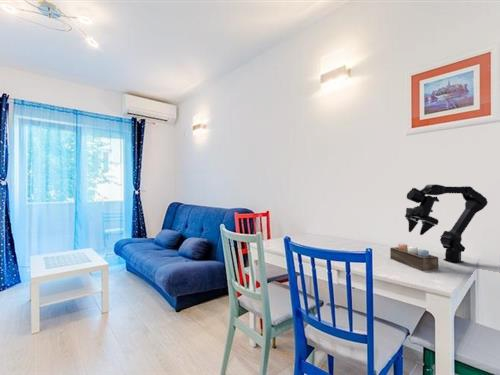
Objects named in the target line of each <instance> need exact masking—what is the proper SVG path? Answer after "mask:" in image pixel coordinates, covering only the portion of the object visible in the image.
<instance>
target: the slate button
mask: <svg viewBox="0 0 500 375" xmlns="http://www.w3.org/2000/svg"><path fill="white" fill-rule="evenodd" d="M429 252H430V251H429V250H426V249H418V256H421V257H429V255H430V253H429Z"/></svg>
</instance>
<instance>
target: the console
mask: <svg viewBox="0 0 500 375" xmlns="http://www.w3.org/2000/svg"><path fill="white" fill-rule="evenodd" d="M389 253H390V255H389V256H390V257H389V258H390V259H391V260H394V261H397V262H398V263H400V264H404V265H406V266H408V267H412V268H414V269H416V270H419V271H439V256H436V255H432V254H429V257H421V256H418V253H413V254H412V253H409V252H408V247H407V250H399V249H398V246H397V247H390V252H389Z"/></svg>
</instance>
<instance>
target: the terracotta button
mask: <svg viewBox="0 0 500 375" xmlns="http://www.w3.org/2000/svg"><path fill="white" fill-rule="evenodd" d="M397 247H398V249H399V250H407V248H408V244H405V243H398V244H397Z"/></svg>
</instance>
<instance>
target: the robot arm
mask: <svg viewBox="0 0 500 375" xmlns="http://www.w3.org/2000/svg"><path fill="white" fill-rule="evenodd" d="M445 194H461V195H462V198H463V200H464V201H465V203H464V206H465V207H464V208H465V209H464V210H463V212H461V214H460V216H459V217H458V219H457V221H456V222H455V223H454V225H453V227H452V228H450V230H444V231H443V232H442V234H441V235H440V239H439V241H440V243H441V245H442V247H443V248H444V249H445V258H443V260H444V261H446V262H450V263H453V264H457V263H458V264H459V263H460V264H461V263H465V261H464V260H462V252H465V250H466V247H465V246H464V245H463V243H461V242H462V240H463V239H462V236H463V235H462V234H464V232H465V230H466V228H467V227H468V226H469V224H470V223H471V221H472V219H473V218H474V217H475V215H476V214H477V213H478V212H480V211H482V210H483V209H484V208H485V207H486V206H487V205H488V203H489V202H488V199H487V197H485V196H484V195H483V194H482V193H480V192H478V191H477V190H475V189H474V188H473V187H471V186H469V185H466V186H445V185H441V184H435V183H434V184H426V185H425V186H424V187H423V188H422V189H421V190H420V189H418V188H416V187H412V188H411V189H410V191H408V192H407V194H406V199H407V200H409V201H412V202H413V203H416V204H419V205H417V206H414V207H406V208H405V210H406V211H405V215H404V217H405V219H406V220H407V221H408V232H409V233H411V232H412V231H413V230H414V229H415V228H416V226H417V225H418V224H419V221H421V224H422V225H421V228H420V232H419V235H420V236H423V235H424V234H426V233H427V232H428V231H429V230H431V229H432V228H433V227H436V226H438V225H439V219H438V218H435V217H433V216H431V215H430V214H431V213H433V212H434V210H432V209H433V206H434V204H435V202H440V200H439V198H438V196H440V195H445Z"/></svg>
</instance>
